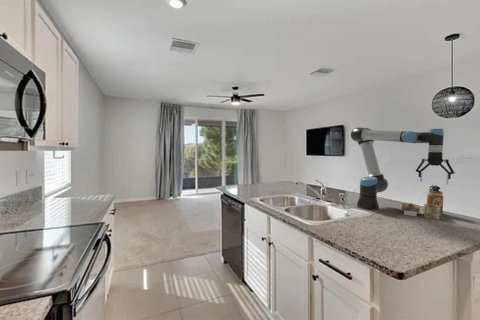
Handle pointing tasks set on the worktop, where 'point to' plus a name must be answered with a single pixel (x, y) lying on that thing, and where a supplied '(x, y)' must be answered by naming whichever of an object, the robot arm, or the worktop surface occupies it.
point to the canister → (435, 197)
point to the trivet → (410, 213)
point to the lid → (410, 207)
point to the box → (432, 211)
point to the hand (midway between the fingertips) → (433, 183)
